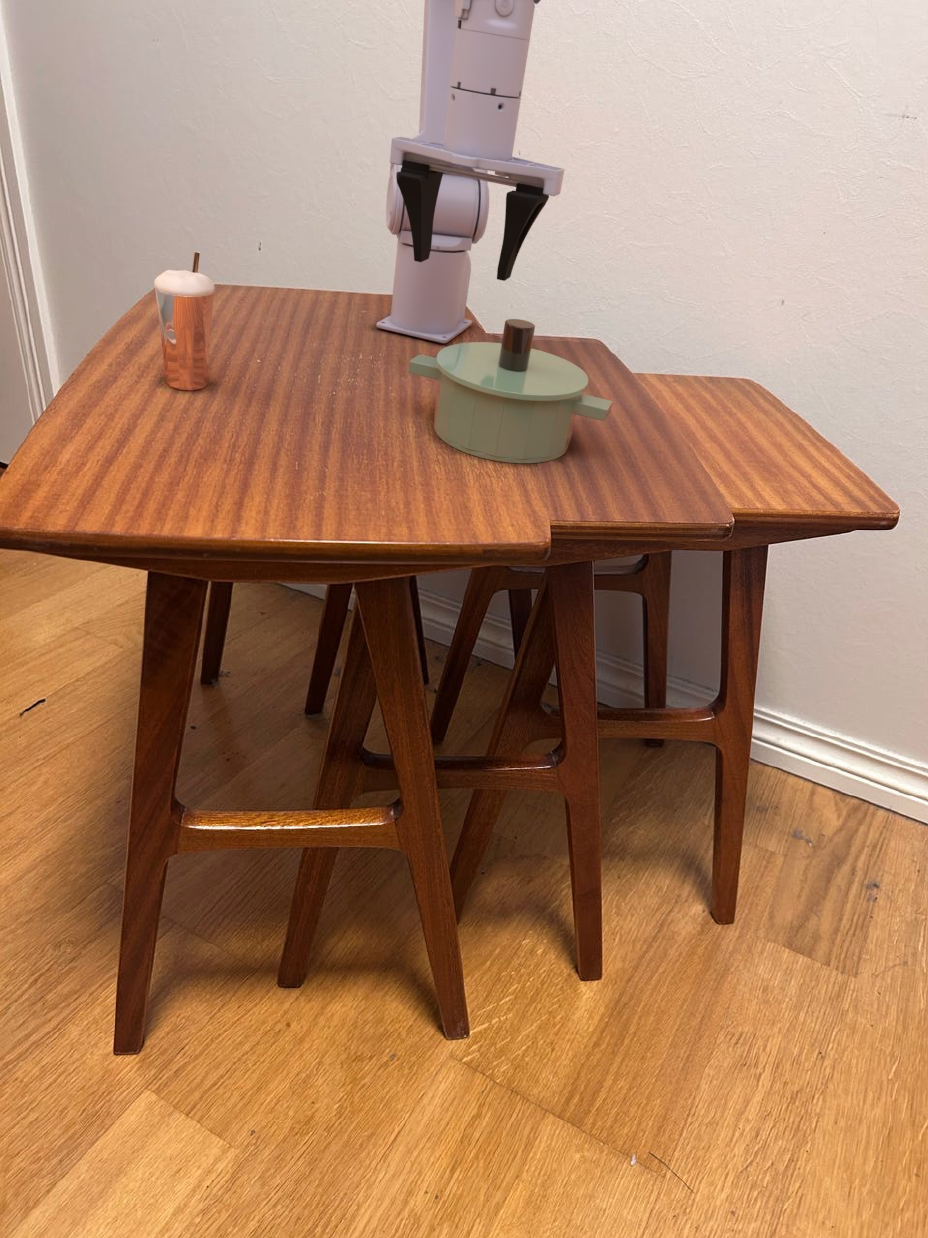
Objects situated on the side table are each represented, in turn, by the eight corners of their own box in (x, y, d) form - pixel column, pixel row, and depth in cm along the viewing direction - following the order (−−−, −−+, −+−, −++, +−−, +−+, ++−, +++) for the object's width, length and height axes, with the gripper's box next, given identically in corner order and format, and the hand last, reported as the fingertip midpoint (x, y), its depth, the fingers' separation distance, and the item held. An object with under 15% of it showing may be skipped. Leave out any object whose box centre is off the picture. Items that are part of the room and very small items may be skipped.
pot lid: (462, 344, 81) (470, 291, 78) (598, 377, 78) (611, 323, 76) (412, 383, 71) (419, 322, 68) (567, 421, 68) (580, 361, 66)
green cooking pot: (430, 392, 84) (438, 333, 81) (610, 437, 80) (624, 377, 77) (383, 431, 74) (389, 366, 71) (583, 484, 71) (598, 418, 68)
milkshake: (225, 376, 80) (225, 256, 74) (204, 397, 75) (202, 270, 70) (173, 367, 80) (169, 247, 74) (149, 387, 75) (143, 260, 70)
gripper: (382, 76, 71) (368, 258, 79) (561, 109, 68) (529, 295, 76) (414, 76, 77) (398, 246, 84) (581, 107, 74) (549, 279, 82)
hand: (462, 268), depth 81 cm, fingers open, 7 cm apart
